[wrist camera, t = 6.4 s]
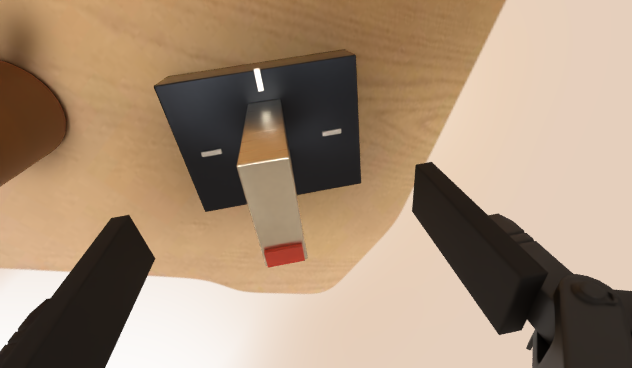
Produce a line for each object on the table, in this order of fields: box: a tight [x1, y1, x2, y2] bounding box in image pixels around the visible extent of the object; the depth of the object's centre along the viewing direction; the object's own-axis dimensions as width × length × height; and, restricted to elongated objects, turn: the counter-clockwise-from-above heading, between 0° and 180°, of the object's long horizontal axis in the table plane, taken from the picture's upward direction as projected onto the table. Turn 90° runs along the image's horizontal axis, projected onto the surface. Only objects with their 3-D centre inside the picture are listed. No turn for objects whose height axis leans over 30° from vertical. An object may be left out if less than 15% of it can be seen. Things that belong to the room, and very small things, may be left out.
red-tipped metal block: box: [237, 99, 307, 267], centre depth 17 cm, size 6×2×9 cm, turn 6°
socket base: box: [154, 50, 361, 212], centre depth 22 cm, size 13×10×3 cm
